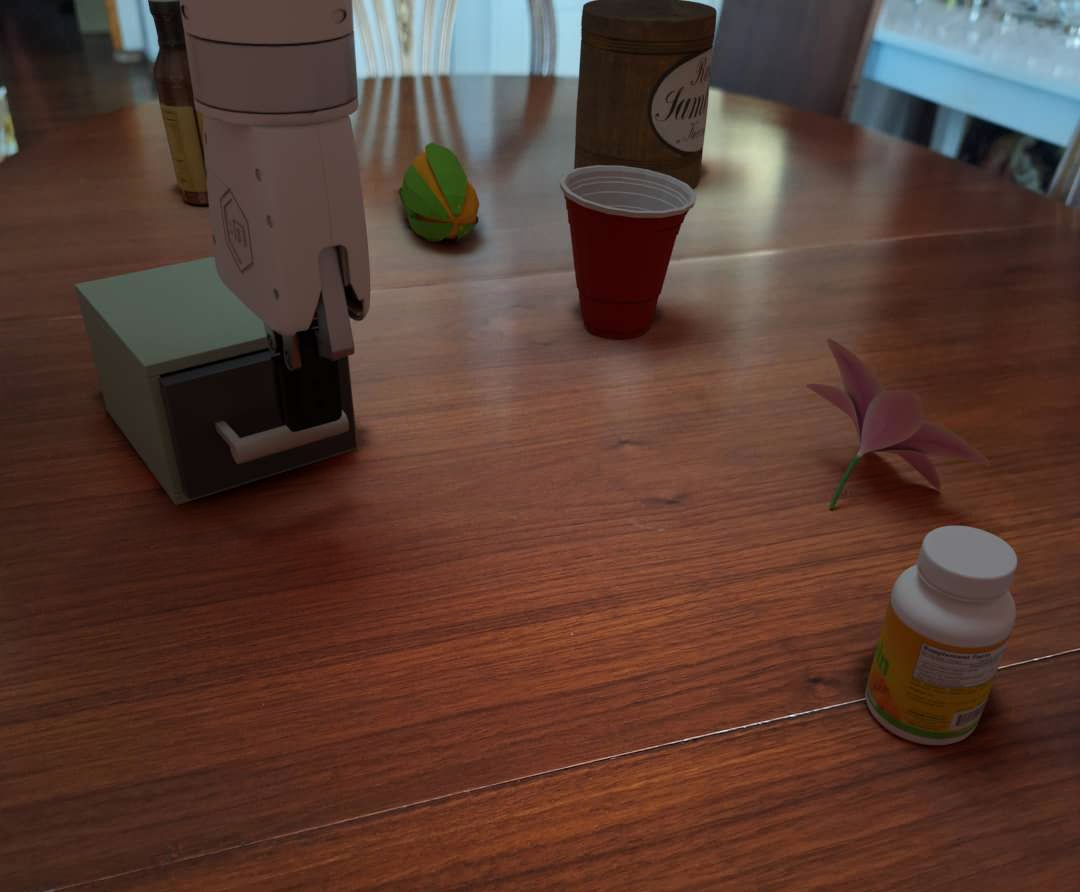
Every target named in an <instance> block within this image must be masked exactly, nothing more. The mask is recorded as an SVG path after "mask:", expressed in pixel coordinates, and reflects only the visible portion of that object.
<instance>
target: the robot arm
mask: <svg viewBox="0 0 1080 892" xmlns="http://www.w3.org/2000/svg"><path fill="white" fill-rule="evenodd" d="M179 1H180V8H181V14H182V21H183V27H184V35H185V41H186V48H187V55H188V62H189V68H190V75H191V82H192V89H193V95H194V103H195V109H196V111H197V112H198V113H200V114H201V115H202V116H203V140H204V157H205V170H206V181H207V191H208V201H209V205H208V210H209V220H210V221H209V222H210V227H211V228H210V229H211V239H212V246H213V257H215V264H216V269H217V272H218V274H219V277H220V279H221V280H222V282H223V283H224V284H225V285H226V287H227V288H228V289H229V290H230V291H231V292H232V293H233V294H234V295H235V296H236V297H237V298H238V299H239V300H240V301H242V302H243V303H244V304H245V305H246V306H247V307H248V308H249V309H250V310H251V311H252V312H253V313H254V314H255V315H256V316H258V317H259V318H260V319H261V320H262V321H263V322H264V328H265V333H266V339H267V344H268V347H269V349H270V351H271V352H272V353H273V354H276V353H280V355H277V356H273V357H271V364H272V372H273V380H274V388H275V396H276V404H277V412H278V417H279V418H280V420H281V421H282V422H283V423H285V424H286V426H287V427H288V428H289V429H290V430H291V431H292V432H298V431H301V430H305V429H309V428H312V427H316V426H320V425H323V424H327V423H331V422H334V421H337V420H339V419H340V418H341V416H342V405H341V393H340V381H339V369H338V360H339V359H340V357H345V356H348V357H349V356H353V355H354V354H355V350H356V349H355V348H356V347H355V341H354V336H353V331H352V325H351V320H353V321H355V322H361V321H363V320H364V319H365V318H366V317H367V315H368V313H369V311H370V308H371V269H370V267H371V266H370V253H369V242H368V232H367V231H368V230H367V221H366V213H365V212H366V211H365V204H364V196H363V189H362V188H363V187H362V181H361V180H362V179H361V174H360V173H361V172H360V167H359V160H358V155H357V147H356V142H355V137H354V135H355V134H354V131H353V126H352V125H353V124H352V119H351V117H350V116H351V115H352V114H354V113H355V112H356V111H357V110H358V109H359V107H360V105H359V104H360V103H359V89H358V88H359V87H358V73H357V71H358V70H357V58H356V57H357V55H356V39H355V37H356V36H355V27H354V23H355V22H354V8H353V6H354V5H353V0H179ZM350 319H351V320H350Z"/></svg>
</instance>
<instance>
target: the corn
mask: <svg viewBox="0 0 1080 892" xmlns="http://www.w3.org/2000/svg"><path fill="white" fill-rule="evenodd" d="M398 195H399V198H400V202H401V204H402V207H403V209H404V213H405V214H406V218H407V220H408V223H409V225H410V227H411V229H412V231H413V232H414V233H415V234H416V235H417V236H420V238H421V237H422V238H423V239H425V240H427V241H428V242H430V243H433V242H435V243H436V242H442V241H443V240H444V239H448V240H449V239H450V240H452V239H453V240H455V241H456V242H457V241H459V240H460V239H462V238H464V237H465V236H467V235H469V234H470V233H471V232H472V231H473V229H474V228H475V227H476V226H477V225H478V223H479V216H478V213H479V208H480V201H479V198H478V195H477V191H476V189H475V188H474V186H472V184H471V183H470V182H469V180H468V176H467V174H466V172H465V170H464V169H463V167H462V164H461V162H460V160H459V159H458V156H457V155H456V154H455V153H454V152H453V151H452V150H451V149H450V148H447V147H446V146H444V145H440V144H438V143H435V142H430V143H428V144H426V145H425V147H424V151H421V152H420V153H419V154H418V155H417V156H415V157H414V159H413V161H412V164H411V165H410V166H408V167H407V169H406V170H405V171H404V175H403V179H402V186H401V187H399V189H398ZM417 215H418V216H417Z"/></svg>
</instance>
